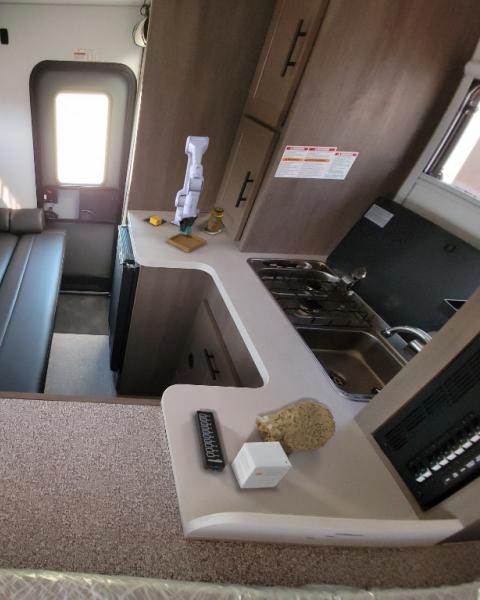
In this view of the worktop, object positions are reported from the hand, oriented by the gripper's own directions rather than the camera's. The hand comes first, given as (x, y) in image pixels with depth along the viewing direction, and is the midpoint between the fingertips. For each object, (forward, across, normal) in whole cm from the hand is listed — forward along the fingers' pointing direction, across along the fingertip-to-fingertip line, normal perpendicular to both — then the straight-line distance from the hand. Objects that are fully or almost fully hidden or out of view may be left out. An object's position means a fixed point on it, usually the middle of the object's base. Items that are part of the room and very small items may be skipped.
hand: (184, 230), depth 164 cm
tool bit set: (+5, -83, -72) cm, 110 cm away
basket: (+5, -2, -3) cm, 6 cm away
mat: (+5, +5, +24) cm, 25 cm away
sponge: (+5, -63, -84) cm, 106 cm away
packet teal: (+1, 0, 0) cm, 1 cm away
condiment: (+6, +21, -3) cm, 22 cm away
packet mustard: (+5, +3, +21) cm, 22 cm away
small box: (+5, -82, -84) cm, 117 cm away
